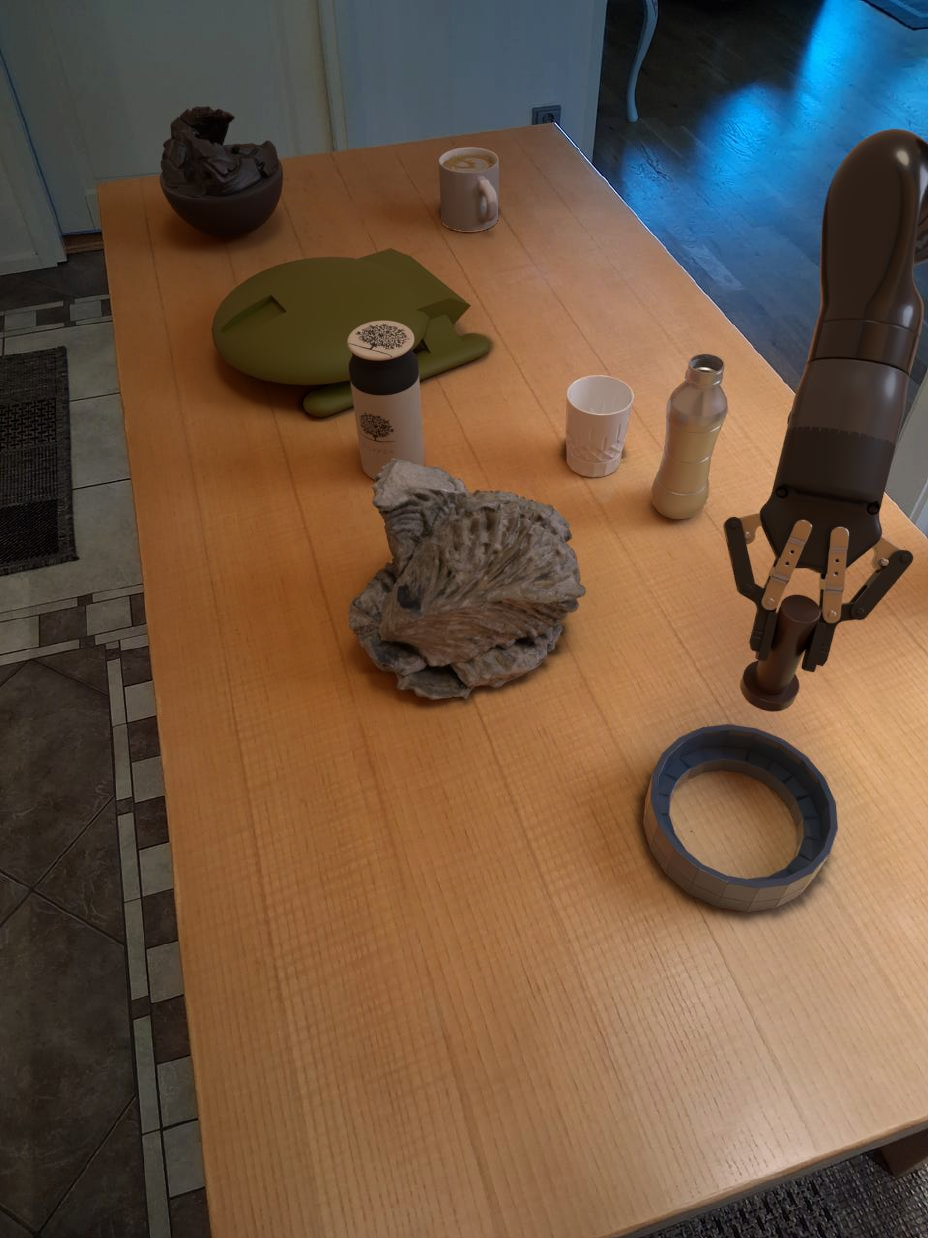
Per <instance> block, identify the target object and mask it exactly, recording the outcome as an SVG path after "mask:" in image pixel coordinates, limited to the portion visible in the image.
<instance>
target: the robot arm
mask: <svg viewBox="0 0 928 1238" xmlns="http://www.w3.org/2000/svg"><path fill="white" fill-rule="evenodd" d="M819 259H820V260H819V261H820V262H819V286H820V287H819V288H820V307H819V310H818V316H817V318H816V323H815V326H814V330H813V333H812V339H811V342H810V347H809V351H808V355H807V360H806V364H805V366H804V370H803V374H802V376H801V378H800V381H799V384H798V386H797V389H796V391H795V395H794V398H793V402H792V406H791V410H790V412H789V414H788V416H787V421H786V424H787V426H786V430H785V436H784V439H783V443H782V449H781V451H780V456H779V460H778V463H777V468H776V473H775V477H774V482H773V486H772V489H771V493H770V496H769V498H768V499H767V501H766V502H765V503H764V504H763V505H762V507H760V510H759V512H758V513H753V514H750V515H745V516H741V517H737V516H730V517H729V518H727V519H726V520H725V521H724V523H723V525H722V526H723V527H722V528H723V533H724V537H725V541H726V546H727V551H728V556H729V560H730V564H731V569H732V573H733V578H734V583H735V588H736V592H737V593H738V594H740V595H741V596H743V597H744V598H746V599H748V600H750V601H751V602H752V603H754V605H755V607H756V608H755V609H756V611H755V616H754V620H753V625H752V627H751V632H750V637H749V641H748V643H749V649H750V650H751V651H752V652H755V655H754V659H755V660H756V661H757V660H760V661H765V662H767V659H768V655H769V651H770V647H771V643H772V639H773V635H774V631H775V627H776V623H777V619H778V615H779V613H778V612H777V609H778V607H779V605H780V603H781V601H782V600H781V599H782V597H783V595H784V593H785V590H786V588H787V586H788V583H789V582H790V580H791V579H792V576H793V573H794V571H795V569H796V570H797V569H807V570H810V571H812V572H814V573H816V574H819V577H818V578H819V579H818V591H819V592H818V603H817V604H818V606H819V608H820V617H819V619H818V622H817V624H816V626H815V628H814V631H813V633H812V635H811V638H810V640H809V642H808V644H807V647H806V649H805V651H804V654H803V656H802V661H801V670H803V671H805V672H809V673H815V672H816V669H817V666H819V667H824V666H825V665H826V663H827V662H828V660H829V655H830V651H831V647H832V643H833V639H834V635H835V631H836V629H837V626H838V625H840V623H842V622H848V621H862V620H865V619H866V618H867V617H868V616H869V615H870V614H871V613H872V611H873V610H874V609H875V608H876V607H877V605H878V604H879V603H880V602H881V601H882V599H884V597H885V596H886V595H887V594H888V592H889V591H890V590H891V589H892V587H893V586H894V585H896V583H897V581H898V580H899V579H900V578H901V577H902V576H903V574H904V573H905V572H906V571H907V570H908V569H909V567H910V566H911V565H912V564H913V562H914V554H913V553H912V552H911V551H910V550H908V549H901V548H900V547H898V546H897V545H896V544H894V543H893V542H891V541H889V540H888V539H887V538H885V537H884V536H882V535H883V527H882V524H881V521H880V512H881V508H882V503H883V500H884V495H885V492H886V487H887V484H888V480H889V477H890V476H889V475H890V471H891V467H892V463H893V460H894V456H895V452H896V448H897V445H898V440H899V437H900V432H901V428H902V424H903V421H904V417H905V412H906V406H907V395H908V386H909V381H910V376H911V373H912V369H913V364H914V361H915V358H916V353H917V350H918V346H919V340H920V337H921V333H922V329H923V324H924V316H925V315H924V314H925V307H924V301H923V298H922V296H921V295H920V292H919V290H918V288H917V285H916V284H915V279H914V267H917V266H919V265H922V264H924V263H926V262H927V263H928V142H927V141H926V140H925V139H924V138H922V137H921V136H920V135H918V134H916V133H914V132H912V131H910V130H906V129H901V128H889V129H888V128H887V129H883V130H879V131H877V132H875V133H872V134H871V135H869V136H867V137H865V138H864V139H862V140H861V141H859V142H858V143H857V144H856V145H855V146H853V148H852V149H851V150H850V151H849V152H848V153H847V155H846V156H844V158H843V160H842V161H841V163H840V164H839V166H838V168H837V169H836V171H835V173H834V175H833V177H832V179H831V182H830V184H829V187H828V189H827V193H826V196H825V200H824V206H823V212H822V218H821V231H820V258H819ZM759 527H761V528H762V531H763V533H764V535H765V538H766V539H767V543H768V544H769V546H770V548H771V551H772V553H773V555H774V557H775V558H774V560H773V562H772V565H771V567H770V569H769V571H768V575H767V578H766V581H765V583H764V585H763V586H760V585H759V584H757V583H756V581H755V577H754V572H753V568H752V563H751V562H752V561H751V557H750V554H749V549H748V545H750V544H752V543H753V542H754V541H755V540H756V531H757V529H758V528H759ZM871 549H872V550H873V557H872V559H871V561H870V562H871V563H870V564H871V567H872V569H873V570H874V571H873V572H872V573H871V575H870V576H869V577H868V578H867V579H866V580H865V582H864V583H863V585H861V587H860V588H859V589H858V590H857V592H856V593H855V594H854V595H853V596H852V598H851V599H849V601H848V602H843V593H844V590H845V583H846V570H847V569H848V568H849V567H850V566H852V565H853V564H854V563H855V562H857V561H858V560H859V559H860V558H861V557H862V556H864V555H865V554H866V553H867V552H868V551H870V550H871Z"/></svg>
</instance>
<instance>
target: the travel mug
mask: <svg viewBox="0 0 928 1238" xmlns="http://www.w3.org/2000/svg"><path fill="white" fill-rule="evenodd" d="M413 343H414V335H413V333H412V331H411V330H410V329H409V328H408V327H407V326H405V325H403V324H400V323H397V322H393V321H374V322H369V323H366V324H363V325H361V326H359V327H357V328H356V329H354V330H353V331H352V332H351V333H350V335H349V337H348V340H347V344H348V347H349V349H350V351H351V352H352V357H351V359H350V361H349V365H348V367H349V375H350V382H351V389H352V397H353V404H354V406H353V411H354V417H355V424H356V425H355V426H356V431H357V439H358V446H359V453H360V461H361V467H362V470H363V472H364V473H365V474H366V475H367V476H368V477H369V478H371V479H373V480H374V479H375V476H376V475H377V474H379V472H380V469H381V467H382V466H385V464H387V463H389V462H390V460H391V459H393V458H395V459H402V461H409V462H411V463H413V464H420V465H421V466H425V464H426V457H425V455H426V454H425V443H424V428H423V427H424V425H423V414H422V413H423V412H422V398H421V387H420V386H421V383H420V381H419V368H418V359H417V357H416V355H415V354H414V353H415V352H414V351H413V350H412V346H413Z"/></svg>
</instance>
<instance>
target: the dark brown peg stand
mask: <svg viewBox="0 0 928 1238" xmlns="http://www.w3.org/2000/svg"><path fill="white" fill-rule="evenodd" d="M778 607H779V608H778V610H777V613H779V615H778V619H777V623H776V627H775V631H774V635H773V639H772V643H771V647H770V651H769V655H768V659H767V662H765V661H760V660H757V659H756V660H754V661H752V662H750V663H749V664H748V665H747V666H746V667H745V669H744V670H743V673H742V676H741V679H740V683H739V687H740V692H741V694H742V696H743V698H744V699H745V701H747V702H748V703H749V704H750V705H752V706H753V707H755V708H756V709H759V710H762V711H765V712H771V713H774V712H781V711H784V710H787V709H788V708H790V707H792V705H793V704H794V703H795V701H796V699H797V696H798V694H799V691H800V681H799V678H798V675H797V674H796V672H797V670H798V668H799V665H800V663H801V660H802V659H803V657H804V653H805V649H806V647H807V644H808V642H809V640H810V638H811V635H812V633H813V631H814V628H815V626H816V624H817V622H818V619H819V617H820V608H819V606H818V603H817V602H816V601H815V600H814V599H812V598H811V597H809V596H806V595H802V594H790V595H787V596H786V597H784V598H783V599H782V600H781V601H780V604H779V606H778Z"/></svg>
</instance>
